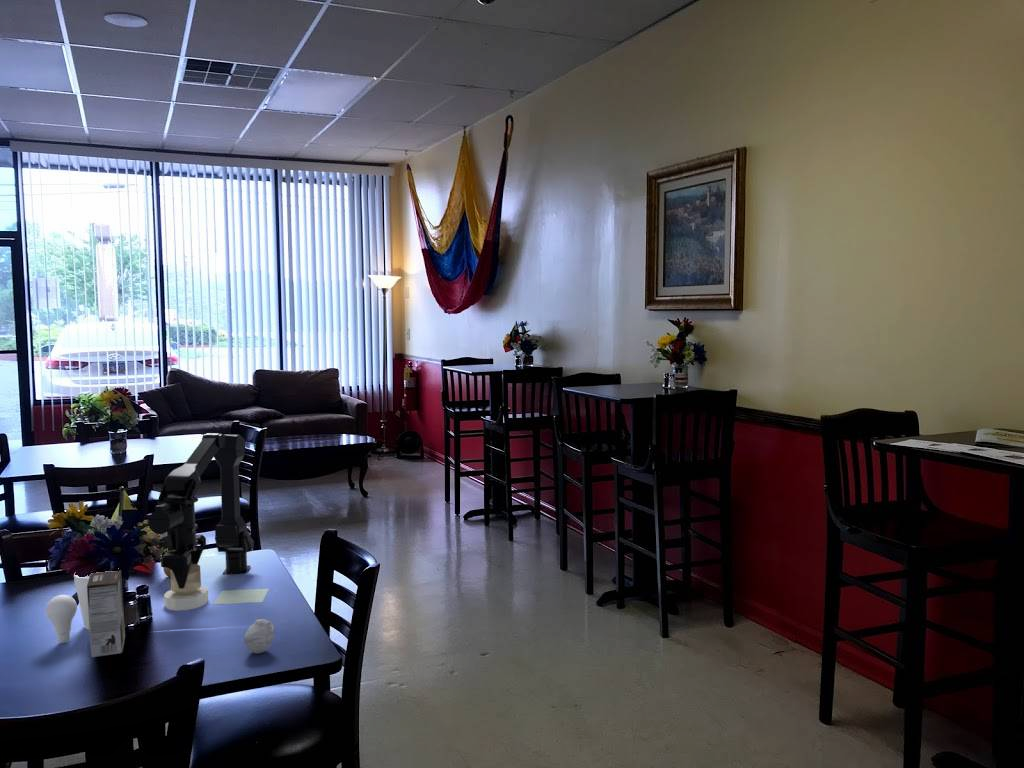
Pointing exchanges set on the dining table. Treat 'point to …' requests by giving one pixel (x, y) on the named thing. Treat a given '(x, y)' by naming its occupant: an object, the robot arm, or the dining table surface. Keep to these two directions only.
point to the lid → (188, 580)
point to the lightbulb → (61, 615)
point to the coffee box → (105, 613)
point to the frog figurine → (259, 636)
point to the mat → (241, 596)
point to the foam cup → (83, 597)
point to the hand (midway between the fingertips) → (185, 583)
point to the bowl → (186, 599)
